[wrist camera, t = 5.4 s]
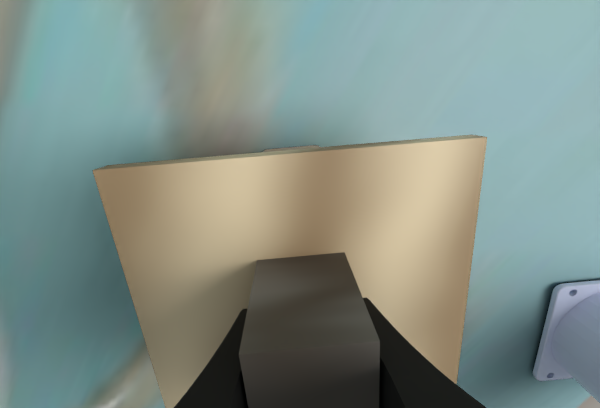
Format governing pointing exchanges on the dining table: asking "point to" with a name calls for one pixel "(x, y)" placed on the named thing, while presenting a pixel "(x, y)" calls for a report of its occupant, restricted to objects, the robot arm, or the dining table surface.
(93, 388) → the dining table surface
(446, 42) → the dining table surface
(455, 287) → the lid
